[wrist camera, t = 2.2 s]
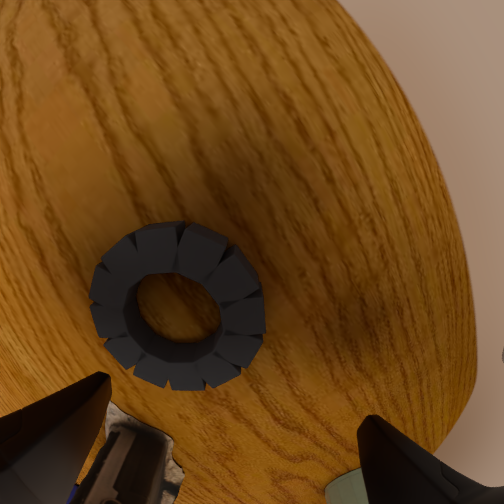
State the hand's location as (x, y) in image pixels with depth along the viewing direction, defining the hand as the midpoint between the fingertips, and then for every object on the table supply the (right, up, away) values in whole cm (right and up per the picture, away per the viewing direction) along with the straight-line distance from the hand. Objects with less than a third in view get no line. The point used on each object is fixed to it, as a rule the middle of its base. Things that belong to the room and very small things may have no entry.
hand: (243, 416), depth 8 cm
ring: (-4, +2, +7) cm, 8 cm away
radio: (-12, -17, +11) cm, 24 cm away
